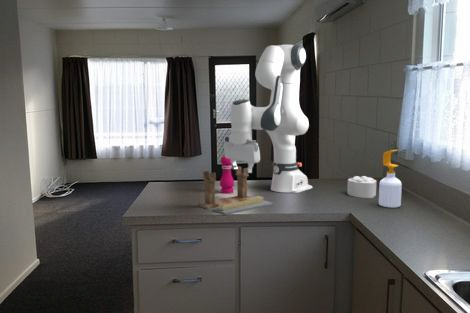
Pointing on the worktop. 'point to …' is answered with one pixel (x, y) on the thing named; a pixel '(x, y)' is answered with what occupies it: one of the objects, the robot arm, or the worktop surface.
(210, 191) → the stand
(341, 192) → the worktop surface
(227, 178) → the pepper mill
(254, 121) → the robot arm
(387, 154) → the soap bottle
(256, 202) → the brass rail
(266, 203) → the slate mat
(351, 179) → the lumpy-topped squat cylinder
